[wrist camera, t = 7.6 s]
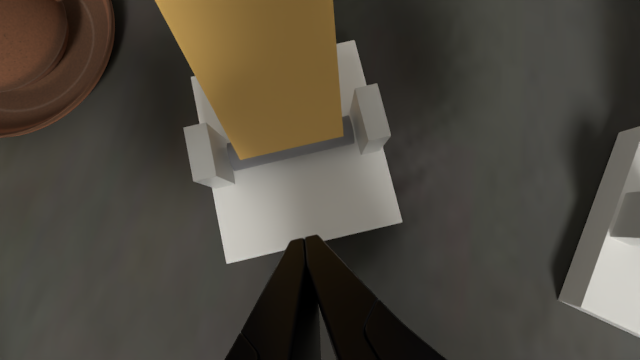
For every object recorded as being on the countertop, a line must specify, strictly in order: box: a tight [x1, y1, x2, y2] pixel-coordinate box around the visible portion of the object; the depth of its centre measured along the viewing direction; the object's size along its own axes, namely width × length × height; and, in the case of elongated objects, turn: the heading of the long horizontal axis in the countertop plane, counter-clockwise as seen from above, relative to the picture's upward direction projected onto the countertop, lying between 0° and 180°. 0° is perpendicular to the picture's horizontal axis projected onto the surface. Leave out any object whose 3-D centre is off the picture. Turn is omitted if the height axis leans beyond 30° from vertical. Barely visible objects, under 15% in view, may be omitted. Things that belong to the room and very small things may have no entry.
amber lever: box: [155, 0, 355, 171], centre depth 12 cm, size 1×6×12 cm, turn 104°
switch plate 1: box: [184, 40, 402, 264], centre depth 17 cm, size 10×9×5 cm
